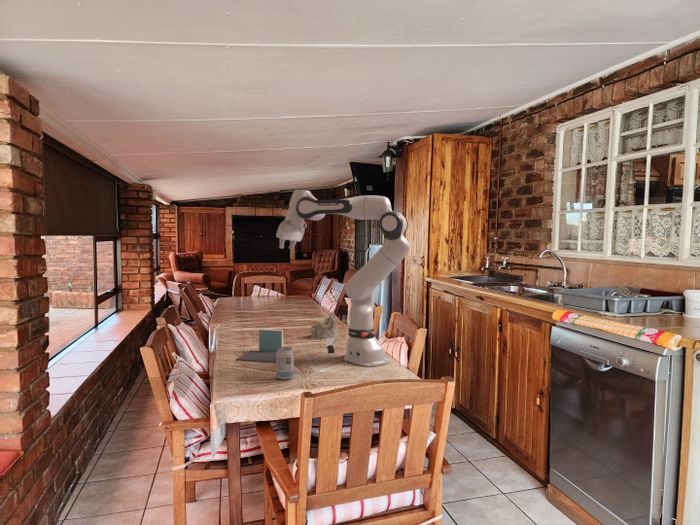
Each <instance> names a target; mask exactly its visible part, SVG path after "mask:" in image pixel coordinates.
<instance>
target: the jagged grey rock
mask: <svg viewBox="0 0 700 525" xmlns="http://www.w3.org/2000/svg"><path fill="white" fill-rule="evenodd" d="M336 324H337V319H336V314H335V312H334V311H332V312H331V314H330V316H329V317H325V318H324V321H316V324H314V323H313V324H311V329H310V333H311V335H310V339H312V338H314V339H315V340H321V339H328V338H335V339H337V337H338V338H339V330H338V327H337V325H336ZM314 339H313V340H314Z"/></svg>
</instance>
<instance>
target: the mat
mask: <svg viewBox="0 0 700 525" xmlns="http://www.w3.org/2000/svg"><path fill="white" fill-rule="evenodd" d="M276 353H277V352H270V351H259V350H253V349H252V350H249V351H247V352H245V353H243V354H242V355H241V356H239V357H237V358H235V361H237V360H242V361H241V362H253V361H260V362H259V363H269V362H274V363H273V364H276Z"/></svg>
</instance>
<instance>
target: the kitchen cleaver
mask: <svg viewBox="0 0 700 525" xmlns="http://www.w3.org/2000/svg"><path fill="white" fill-rule="evenodd" d="M335 339H336V338H328V339H325V340H326V341H325V342H326V344H327V348H326V349H328V354H329V353H336V352H335V348H334V347H335V346H334V344H333V343H334V341H335Z"/></svg>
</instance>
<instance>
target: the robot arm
mask: <svg viewBox="0 0 700 525" xmlns="http://www.w3.org/2000/svg"><path fill="white" fill-rule="evenodd" d="M334 214H335V215H341V216H344V217H347V218H350V219H354V220H360V221H361V220H363V221H366V220H377V221H379V223H378V226H379V229H380V231H381V232H382V234H383V236H384V237H385V240H386V241H385V243H384V244H382V246H381V247H380V248H379V249H378V250H377V251H376V252H375V253H374V255H373V256H372V257H371V258H370V259H369V260H368V261H367V262H366V263H365V264H364V265H363V266H362V267H361V268H359V269H358V270H357V271H356V273H354V274H353V276H351V278H349V280H348V281H347V282H346V284H345V286H344V292H345V294H346V296H347V297H348V298H349V299H351V304H350V307H349V308H350V309H349V317H348V319H349V320H348V321H349V323H348V324H349V326H348V330H347V334H348V340H347V341H346V346H345V347H346V348H345V356H344V357H343V361H345V362H348V361H349V363H352V364H356V365H358V366H359V365H360V366H362V367H369V368H370V367H372V368H373V367H378V366H384V365H388V364H390V363H391V359H389V358H387V357H386V355H385V354H386V353H385V349H384V346H383V345H381V343H380V342H379V339H377V338H376V335H377V331H375V329H374V306H375V300H376V291H377V290H376V289H377V287H378V286H379V285H380V284H381V283H382V282H383V281H384V280H385V279H386V278H387V277H388V276H389V275H390V274H391V273H392V272H393V271H394V270H395V269H396V268H397V267H398V265H399V264H400V263H401V262H402V261H403V260H404V258H405V256H406V255H407V253H408V252H409V251H410V248H411V246H410V245H411V244H410V243H409V241H408V239H407V238H406V237H405V236H404V234H405V233H406V232H407V230H408V227H409V222H408V220H407V218H406V216H405V215H403V214H401V213H400V212H397V211H395V210H392V204H391V201H390V199H389V198H388V197H386V196H384V195H383V196H382V195H374V194H373V195H372V194H371V195H368V194H367V195H359V196H357V195H356V196H353V197H346V198H341V199H321V200H320V199H319V200H318V198H316V197H315V196H314V195H313V194H312V192H311V191H309V189H302V188H298V189H295V190H294V191H293V192H292V195H291V197H290V200H289V204H288V210H287V212H286V214H285V218H284V219H283V221H281V223H280V224H279V225H278V229H277V230H276V234H275V235H276V236H275V237H276V238H278V239H279V247H278V248H279V249H284V248H285V242H286V241H291V242H290V245H289V246H288V249H289V250H294V247H295V245H296V244H297V242H301V241H302V240H303V237H304V234H305V229H306V228H307V227H308V225H307V223H306V222H305V220H311V221H321V220H323V219H324V218H325V216H326V215H334Z"/></svg>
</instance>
